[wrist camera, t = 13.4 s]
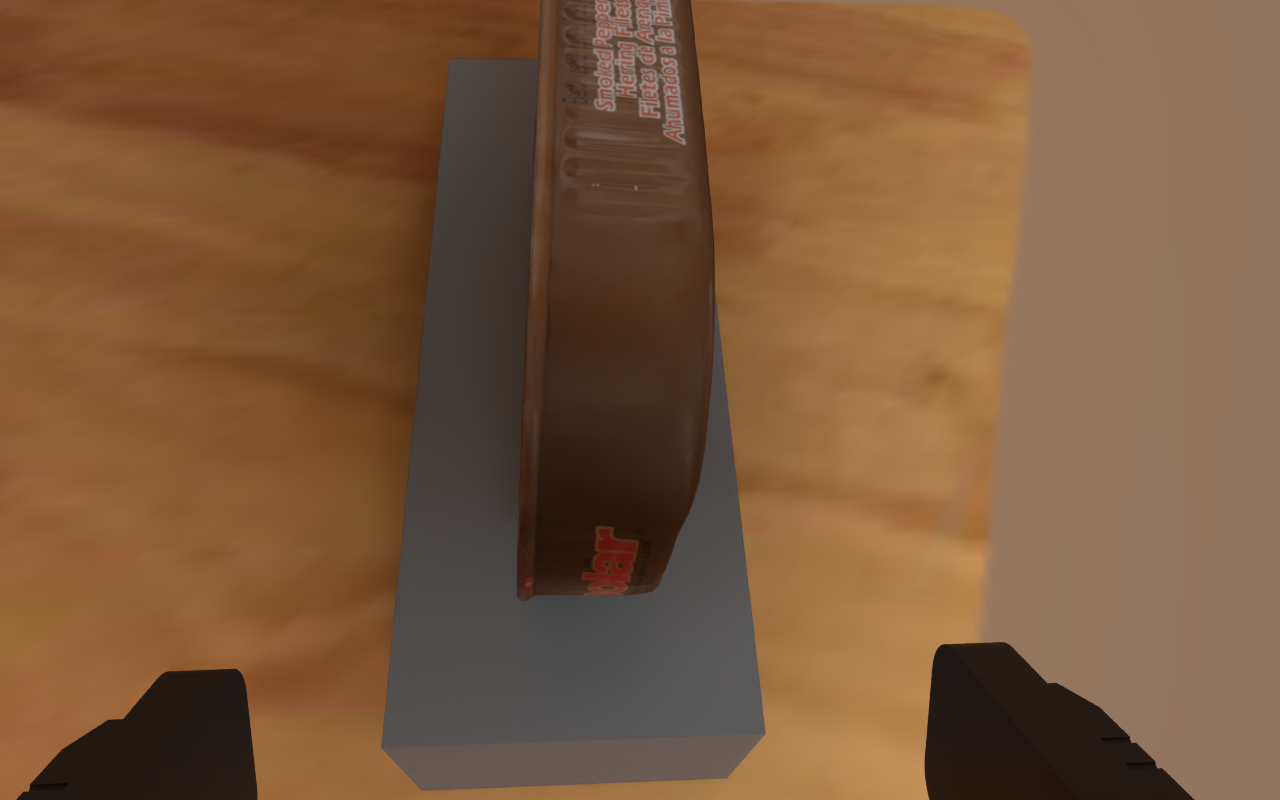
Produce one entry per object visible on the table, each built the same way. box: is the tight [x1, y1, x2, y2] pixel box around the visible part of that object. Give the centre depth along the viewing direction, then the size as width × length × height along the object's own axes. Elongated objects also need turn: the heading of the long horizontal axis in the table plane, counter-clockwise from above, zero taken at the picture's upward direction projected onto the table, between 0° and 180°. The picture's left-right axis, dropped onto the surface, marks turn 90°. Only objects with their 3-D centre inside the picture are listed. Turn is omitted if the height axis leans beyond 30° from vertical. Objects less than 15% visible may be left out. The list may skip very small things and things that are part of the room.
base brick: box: [381, 58, 765, 790], centre depth 23 cm, size 7×19×5 cm, turn 2°
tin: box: [517, 0, 715, 601], centre depth 17 cm, size 15×3×8 cm, turn 1°
